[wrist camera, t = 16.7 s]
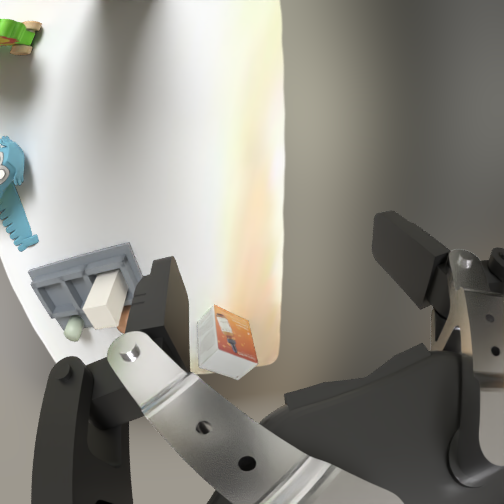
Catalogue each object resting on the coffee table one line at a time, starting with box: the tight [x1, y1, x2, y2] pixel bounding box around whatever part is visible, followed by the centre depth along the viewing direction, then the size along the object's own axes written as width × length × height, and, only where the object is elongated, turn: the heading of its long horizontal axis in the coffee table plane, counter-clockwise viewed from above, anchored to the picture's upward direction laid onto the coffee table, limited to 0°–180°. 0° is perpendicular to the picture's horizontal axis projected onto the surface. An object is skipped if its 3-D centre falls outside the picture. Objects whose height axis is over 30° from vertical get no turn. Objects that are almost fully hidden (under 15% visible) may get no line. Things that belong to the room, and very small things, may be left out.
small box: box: [197, 304, 258, 380], centre depth 45 cm, size 8×6×10 cm
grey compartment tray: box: [28, 242, 143, 342], centre depth 39 cm, size 14×22×5 cm, turn 99°
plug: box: [83, 268, 129, 330], centre depth 37 cm, size 4×4×9 cm
